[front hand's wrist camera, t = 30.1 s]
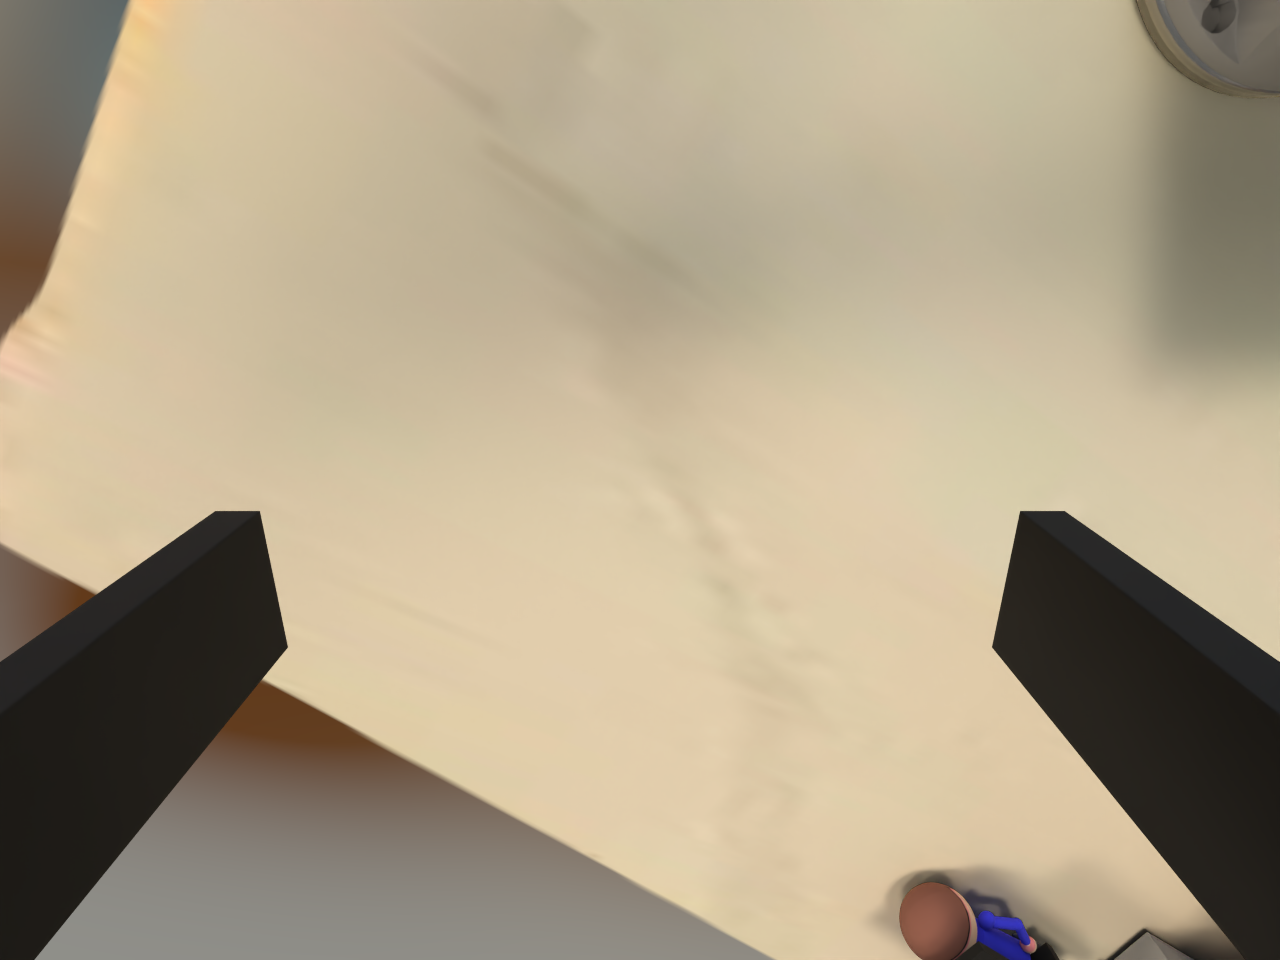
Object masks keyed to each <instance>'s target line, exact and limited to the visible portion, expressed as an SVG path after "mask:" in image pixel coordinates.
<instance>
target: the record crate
mask: <svg viewBox="0 0 1280 960" xmlns="http://www.w3.org/2000/svg"><path fill="white" fill-rule="evenodd" d="M1114 960H1193V959H1192V958H1190V957H1188V956H1187V955H1185V954H1183V953H1182V952H1180V951H1178V950H1177V949H1175V948H1173V947H1172V946H1170V945H1168V944H1167V943H1165V942H1163V941H1162V940H1160V939H1158V938H1157V937H1155V936H1153V935H1151V934H1150V933H1148V932H1146V933H1145V934H1144V935H1143V936H1142V937H1140V938H1139V939H1138V940H1137V941H1136V942H1134V943H1133V944H1132V945H1131V946H1130V947H1128V948H1127V949H1126V950H1125V951H1124V952H1122V953H1121V954H1120V955H1119V956H1118V957H1116V958H1115V959H1114Z"/></svg>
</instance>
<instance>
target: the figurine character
mask: <svg viewBox="0 0 1280 960" xmlns="http://www.w3.org/2000/svg"><path fill="white" fill-rule="evenodd" d="M899 919H900V927H901V931H902V934H903V936H904V939H905V941H906V942H907V944H908V946H909V947H910V948H911V950H912V951H913V952H914V953H915V954H916V955H917V956H918V957H920V958H921V959H922V960H1059V958H1058V957H1057V955H1056V953H1055V952H1054V950H1053V948H1052V947H1051V946H1050V945H1049V944H1047V943H1044V944H1043V945H1042V946H1041V944H1040V943H1038V942H1036V941H1035V940H1034V939H1033V938H1032V937H1030V936H1028V934H1027V932H1026V930H1025V928H1024V925H1023V923H1022V921H1021V920H1020V919H1018V918H1009V917H998V916H994V915H993V914H992V913H991V912H990V911H983V912H981V913H980V914H979V916H978V919H977V918H975V916H974V914H973V911H972V909H971V907H970V906H969V904H968V903H967V901H966V900H965V899H964V898H963V897H962V896H961V895H960V894H959V893H958V892H957V891H955V890H954V889H952V888H950V887H949V886H946V885H944V884H940V883H934V882H929V883H923V884H920V885H918V886H916V887H914V888H913V889H911V890H910V891H909V892H908V893H907V895H906V896H905V898H904V899H903V902H902V904H901V908H900V915H899ZM999 929H1007V930H1015V931H1016V933H1013V934H1012V936H1010V935H1008V934H1006V933H1004V932H1002V931H1001V930H999ZM1030 953H1031V954H1030Z"/></svg>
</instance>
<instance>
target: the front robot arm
mask: <svg viewBox="0 0 1280 960" xmlns="http://www.w3.org/2000/svg"><path fill="white" fill-rule="evenodd" d="M1136 1H1137V5H1138V8H1139V11H1140V13H1141V16H1142V19H1143V21H1144V24H1145V26H1146V28H1147V30H1148V32H1149V34H1150V36H1151V37H1152V39H1153V41H1154V42H1155V44H1156V46H1157V47H1158V49H1159V50H1160V51H1161V52H1162V54H1163V55H1164V56H1165V57H1166V59H1167V60H1168V61H1169V62H1170V63H1171V64H1172V65H1173V66H1174V67H1175V68H1177V69H1178V70H1179V71H1180V72H1181V73H1183V74H1184V75H1185V76H1187V77H1188V78H1189V79H1191V80H1193V81H1194V82H1196V83H1198V84H1200V85H1202V86H1203V87H1206V88H1208V89H1211V90H1213V91H1216V92H1219V93H1223V94H1227V95H1231V96H1237V97H1244V98H1271V97H1280V0H1136ZM287 648H288V646H287V641H286V636H285V631H284V626H283V621H282V617H281V612H280V607H279V602H278V597H277V592H276V587H275V583H274V578H273V573H272V568H271V563H270V558H269V554H268V549H267V544H266V539H265V534H264V529H263V524H262V520H261V515H260V511H215V512H214V513H212V514H211V515H209V516H208V517H206V518H205V519H204V520H202V521H201V522H199V523H198V524H196V525H195V526H194V527H192V528H191V529H189V530H188V531H186V532H185V533H184V534H182V535H181V536H179V537H178V538H176V539H175V540H174V541H172V542H171V543H169V544H168V545H166V546H165V547H164V548H162V549H161V550H159V551H158V552H156V553H155V554H154V555H152V556H151V557H149V558H148V559H147V560H145V561H144V562H142V563H141V564H139V565H138V566H137V567H135V568H134V569H132V570H131V571H129V572H128V573H127V574H125V575H124V576H122V577H121V578H119V579H118V580H117V581H115V582H114V583H112V584H111V585H109V586H108V587H107V588H105V589H104V590H102V591H101V592H99V593H98V594H97V595H95V596H94V597H92V598H91V599H90V600H88V601H87V602H85V603H84V604H82V605H81V606H80V607H78V608H77V609H75V610H74V611H72V612H71V613H70V614H68V615H67V616H65V617H64V618H62V619H61V620H60V621H58V622H57V623H55V624H54V625H53V626H51V627H50V628H48V629H47V630H45V631H44V632H43V633H41V634H40V635H38V636H37V637H35V638H34V639H32V640H31V641H30V642H28V643H27V644H25V645H24V646H22V647H21V648H20V649H18V650H17V651H15V652H14V653H13V654H11V655H10V656H8V657H7V658H5V659H4V660H3V661H1V662H0V960H34V959H35V958H36V957H37V956H38V955H39V953H40V952H41V951H42V950H43V948H44V947H45V946H46V945H47V943H48V942H49V941H50V940H51V939H52V937H53V936H54V935H55V934H56V932H57V931H58V930H59V929H60V927H61V926H62V925H63V924H64V923H65V921H66V920H67V919H68V918H69V916H70V915H71V914H72V913H73V911H74V910H75V909H76V908H77V906H78V905H79V904H80V903H81V902H82V900H83V899H84V898H85V897H86V895H87V894H88V893H89V892H90V890H91V889H92V888H93V887H94V886H95V884H96V883H97V882H98V881H99V879H100V878H101V877H102V876H103V874H104V873H105V872H106V871H107V870H108V868H109V867H110V866H111V865H112V863H113V862H114V861H115V860H116V858H117V857H118V856H119V855H120V854H121V852H122V851H123V850H124V849H125V847H126V846H127V845H128V844H129V842H130V841H131V840H132V839H133V837H134V836H135V835H136V834H137V833H138V831H139V830H140V829H141V828H142V826H143V825H144V824H145V823H146V821H147V820H148V819H149V818H150V817H151V815H152V814H153V813H154V812H155V810H156V809H157V808H158V807H159V805H160V804H161V803H162V802H163V801H164V799H165V798H166V797H167V796H168V794H169V793H170V792H171V791H172V789H173V788H174V787H175V786H176V784H177V783H178V782H179V781H180V780H181V778H182V777H183V776H184V775H185V773H186V772H187V771H188V770H189V768H190V767H191V766H192V765H193V763H194V762H195V761H196V760H197V759H198V757H199V756H200V755H201V754H202V752H203V751H204V750H205V749H206V747H207V746H208V745H209V744H210V743H211V741H212V740H213V739H214V738H215V736H216V735H217V734H218V733H219V732H220V730H221V729H222V728H223V727H224V725H225V724H226V723H227V722H228V720H229V719H230V718H231V717H232V715H233V714H234V713H235V712H236V711H237V709H238V708H239V707H240V706H241V704H242V703H243V702H244V701H245V699H246V698H247V697H248V696H249V695H250V693H251V692H252V691H253V690H254V688H255V687H256V686H257V685H258V683H259V682H260V681H261V680H262V679H263V677H264V676H265V675H266V674H267V672H268V671H269V670H270V669H271V667H272V666H273V665H274V664H275V663H276V661H277V660H278V659H279V658H280V656H281V655H282V654H283V653H284V651H285V650H286V649H287ZM992 648H993V649H994V650H995V651H996V653H997V654H998V655H999V656H1000V658H1001V659H1002V660H1003V661H1004V663H1005V664H1006V665H1007V666H1008V667H1009V669H1010V670H1011V671H1012V672H1013V674H1014V675H1015V676H1016V677H1017V679H1018V680H1019V681H1020V682H1021V683H1022V685H1023V686H1024V687H1025V688H1026V690H1027V691H1028V692H1029V693H1030V695H1031V696H1032V697H1033V698H1034V699H1035V701H1036V702H1037V703H1038V704H1039V706H1040V707H1041V708H1042V709H1043V711H1044V712H1045V713H1046V714H1047V716H1048V717H1049V718H1050V719H1051V720H1052V722H1053V723H1054V724H1055V725H1056V727H1057V728H1058V729H1059V730H1060V732H1061V733H1062V734H1063V735H1064V736H1065V738H1066V739H1067V740H1068V741H1069V743H1070V744H1071V745H1072V746H1073V748H1074V749H1075V750H1076V751H1077V752H1078V754H1079V755H1080V756H1081V757H1082V759H1083V760H1084V761H1085V762H1086V764H1087V765H1088V766H1089V767H1090V768H1091V770H1092V771H1093V772H1094V773H1095V775H1096V776H1097V777H1098V778H1099V780H1100V781H1101V782H1102V783H1103V785H1104V786H1105V787H1106V788H1107V789H1108V791H1109V792H1110V793H1111V794H1112V796H1113V797H1114V798H1115V799H1116V801H1117V802H1118V803H1119V804H1120V805H1121V807H1122V808H1123V809H1124V810H1125V812H1126V813H1127V814H1128V815H1129V817H1130V818H1131V819H1132V820H1133V821H1134V823H1135V824H1136V825H1137V826H1138V828H1139V829H1140V830H1141V831H1142V833H1143V834H1144V835H1145V836H1146V838H1147V839H1148V840H1149V841H1150V842H1151V844H1152V845H1153V846H1154V847H1155V849H1156V850H1157V851H1158V852H1159V854H1160V855H1161V856H1162V857H1163V858H1164V860H1165V861H1166V862H1167V863H1168V865H1169V866H1170V867H1171V868H1172V870H1173V871H1174V872H1175V873H1176V874H1177V876H1178V877H1179V878H1180V879H1181V881H1182V882H1183V883H1184V884H1185V886H1186V887H1187V888H1188V889H1189V890H1190V892H1191V893H1192V894H1193V895H1194V897H1195V898H1196V899H1197V900H1198V902H1199V903H1200V904H1201V905H1202V907H1203V908H1204V909H1205V910H1206V911H1207V913H1208V914H1209V915H1210V916H1211V918H1212V919H1213V920H1214V921H1215V923H1216V924H1217V925H1218V926H1219V927H1220V929H1221V930H1222V931H1223V932H1224V934H1225V935H1226V936H1227V937H1228V939H1229V940H1230V941H1231V942H1232V943H1233V945H1234V946H1235V947H1236V948H1237V950H1238V951H1239V952H1240V953H1241V955H1242V956H1243V957H1244V958H1245V959H1246V960H1280V662H1279V661H1277V660H1276V659H1275V658H1273V657H1272V656H1270V655H1269V654H1268V653H1266V652H1265V651H1263V650H1262V649H1260V648H1259V647H1258V646H1256V645H1255V644H1253V643H1252V642H1250V641H1249V640H1248V639H1246V638H1245V637H1243V636H1242V635H1240V634H1239V633H1238V632H1236V631H1235V630H1233V629H1232V628H1230V627H1229V626H1228V625H1226V624H1225V623H1223V622H1222V621H1220V620H1219V619H1218V618H1216V617H1215V616H1213V615H1212V614H1210V613H1209V612H1208V611H1206V610H1205V609H1203V608H1202V607H1200V606H1199V605H1198V604H1196V603H1195V602H1193V601H1192V600H1191V599H1189V598H1188V597H1186V596H1185V595H1183V594H1182V593H1181V592H1179V591H1178V590H1176V589H1175V588H1173V587H1172V586H1171V585H1169V584H1168V583H1166V582H1165V581H1163V580H1162V579H1161V578H1159V577H1158V576H1156V575H1155V574H1153V573H1152V572H1151V571H1149V570H1148V569H1146V568H1145V567H1143V566H1142V565H1141V564H1139V563H1138V562H1136V561H1135V560H1133V559H1132V558H1131V557H1129V556H1128V555H1126V554H1125V553H1124V552H1122V551H1121V550H1119V549H1118V548H1116V547H1115V546H1114V545H1112V544H1111V543H1109V542H1108V541H1106V540H1105V539H1104V538H1102V537H1101V536H1099V535H1098V534H1096V533H1095V532H1094V531H1092V530H1091V529H1089V528H1088V527H1086V526H1085V525H1084V524H1082V523H1081V522H1079V521H1078V520H1076V519H1075V518H1074V517H1072V516H1071V515H1069V514H1068V513H1066V512H1065V511H1020V515H1019V520H1018V524H1017V529H1016V534H1015V539H1014V544H1013V549H1012V554H1011V558H1010V563H1009V568H1008V573H1007V578H1006V583H1005V587H1004V592H1003V597H1002V602H1001V607H1000V612H999V617H998V621H997V626H996V631H995V636H994V641H993V646H992Z"/></svg>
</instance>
